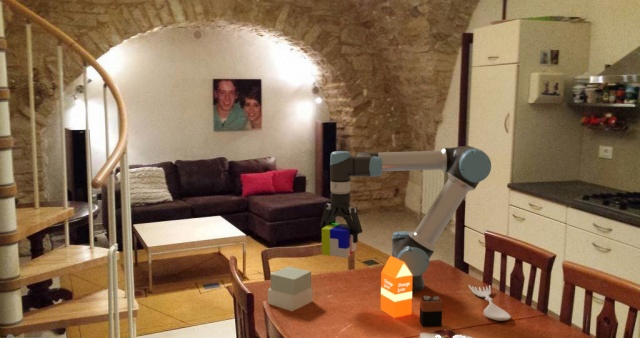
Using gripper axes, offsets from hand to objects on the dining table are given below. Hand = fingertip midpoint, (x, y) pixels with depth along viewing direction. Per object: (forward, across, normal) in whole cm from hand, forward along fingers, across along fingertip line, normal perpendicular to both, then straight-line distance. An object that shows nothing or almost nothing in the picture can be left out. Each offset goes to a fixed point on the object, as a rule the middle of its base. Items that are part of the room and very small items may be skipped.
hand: (340, 248), depth 209 cm
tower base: (+20, -12, -16) cm, 28 cm away
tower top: (+14, -12, -15) cm, 24 cm away
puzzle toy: (+1, 0, -2) cm, 2 cm away
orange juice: (+20, +24, +2) cm, 31 cm away
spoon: (+21, +48, +27) cm, 60 cm away
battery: (+21, +39, -1) cm, 44 cm away
